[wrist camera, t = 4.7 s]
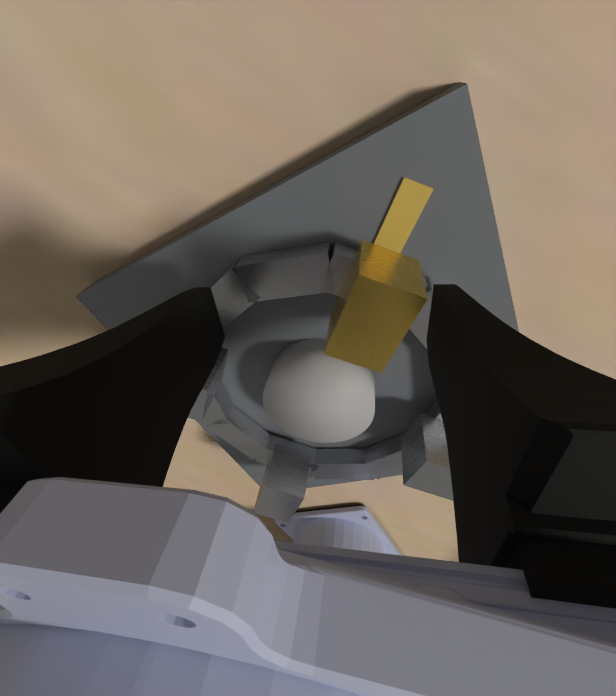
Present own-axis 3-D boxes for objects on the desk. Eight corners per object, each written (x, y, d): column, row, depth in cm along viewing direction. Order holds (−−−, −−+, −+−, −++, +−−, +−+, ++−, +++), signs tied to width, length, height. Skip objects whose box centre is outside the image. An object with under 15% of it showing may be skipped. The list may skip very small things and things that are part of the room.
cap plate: (536, 435, 19) (558, 487, 17) (270, 477, 26) (260, 519, 23) (458, 81, 10) (482, 86, 8) (91, 283, 17) (47, 317, 15)
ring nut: (582, 308, 13) (638, 374, 10) (397, 497, 22) (400, 556, 19) (179, 161, 12) (120, 190, 9) (165, 425, 21) (134, 477, 18)
